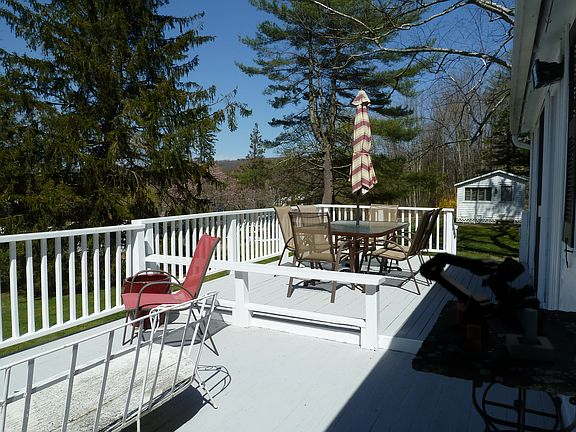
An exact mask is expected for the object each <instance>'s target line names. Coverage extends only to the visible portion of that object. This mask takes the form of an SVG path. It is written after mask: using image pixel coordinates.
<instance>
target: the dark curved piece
mask: <svg viewBox="0 0 576 432" xmlns="http://www.w3.org/2000/svg"><path fill="white" fill-rule="evenodd" d="M524 301H525V300H524ZM524 301H523V302H524ZM496 302H497V307H498V306H499V305H500V304H501V302H500V301H499V300H498V301H496ZM523 302H522V303H523ZM538 314H539V317H540V320H541V323H542V325H543V327H545V325H546V324H547V321H548V316H547V313H546V311H545V310H544V309H543V308H542V307H538ZM516 317H517V319H518V320H519V322H520V323H521V325H522V313H521V312H520V311H519V310H518V311H516ZM538 329H539V328H538V327H537V330H538ZM539 330H540V329H539Z"/></svg>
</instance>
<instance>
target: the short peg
mask: <svg viewBox="0 0 576 432" xmlns="http://www.w3.org/2000/svg"><path fill="white" fill-rule="evenodd" d="M467 350H468V351H467ZM466 351H467V352H469V351H470V352H469V353H473V352H480V353H482V340H481V326H479V325H473V324H470V325H467V328H466Z"/></svg>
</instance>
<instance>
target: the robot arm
mask: <svg viewBox="0 0 576 432" xmlns="http://www.w3.org/2000/svg"><path fill="white" fill-rule="evenodd" d="M447 265H449V266H453V267H457V268H459V269H465V270H466V271H469V272H470V273H471V274H473V275H475V276H477V277H487V276H488V277H487V278H482V279H481V281H482V282H481V287H482V288H486V287H488V288H489V289H490V291H491V292H492V293H493V294H494V296H495V297H494V300H495V301H496V302H498V300H499V301H500V302H501V304H500V305H499V306H498V305H497V307H496V304H495V303H494V302H493V301H492V298H490V297H488V296H486V294H484V293H482V292H481V293H475V294H474V293H473V292H471V291H470V290H469V289H467V288H466V287H465V286H463V285H462V284H460V283H459V282H458V281H456V280H455V279H454V278H452V277H451V276H449V274H447V273H446V271H445V268H446V267H447ZM418 271H419V275H420V276H421V277H422V278H424V279H426V280H428V281H432V282H434V283H437V284H439V285H440V287H442V288H444V289H445V290H446V291H447V292H449V293H450V294H451V295H453V296H454V297H455V298H456V299H457V298H458V299H459V300H460V301H462V302H463V303H464V304H465V306H466V309H467V311H466V312H465V313H464V314H463V316H464V320H466V321H468V325H470V324H473V325H479V326H481V341H482V340H483V341H488V340H489V337H490V324H489V323H488V321H489V320H492V318H493V320H494V321H498V323H499V322H501V323H503V324H504V325H507V326H508V327H510V328H512V329H513V330H515V331H517V332H518V333H520V334H521V333H522V334H525V333H526V331H525V330H524V328H523V326H522V325H521V323H520V322H519V320H518V319H517V317H516V311H518V310H519V311H520V312H521V313H522V309H525V308H528V309H534V310H537V327H538V328H539V330H543V329H544V326H543V325H542V323H541V320H540V317H539V314H538V307H540V306H541V303H542V302H541V301H540V300H539V298H538V297H536V292H537V289H536V288H535V286H533V284H531V283H528V284H524V285H523V287H521V288H517V287H515V286H514V287H511V285H510V284H509V283H513V282H515V280H516V279H518V278H519V277H520V276H522V274H523V273H525V271H526V268H525V266H524V265H523V264H522V262H520V261H518V260H517V259H514V258H513V257H512V256H506V257H505V258H504V259H503V261H502V262H501V263H498V262H495V260H494V259H492V258H471V257H467V256H462V255H457V254H454V253H449V252H447V251H444V252H443V251H441V252H437V253H436V254H435V255H433V256H432V257H431V258H429V259H428V260H426V261H425V262H423V263H421V264H420V265H419V270H418ZM524 300H525V301H524ZM523 301H524V302H523ZM522 302H523V303H522ZM540 308H541V307H540Z"/></svg>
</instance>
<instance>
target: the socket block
mask: <svg viewBox="0 0 576 432" xmlns="http://www.w3.org/2000/svg"><path fill="white" fill-rule="evenodd" d="M505 347H506V349H507V351H508V353H509V357H510V359H521V360H528V361H529V360H532V361H541V362H549V363H555V356H556V355H555V352H556V350H555V348H554V345H552V343H551V341H550V340H549V339H548V337H547V336H538V335H537V345H534V344H523V343H521V334H514V333H505Z"/></svg>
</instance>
